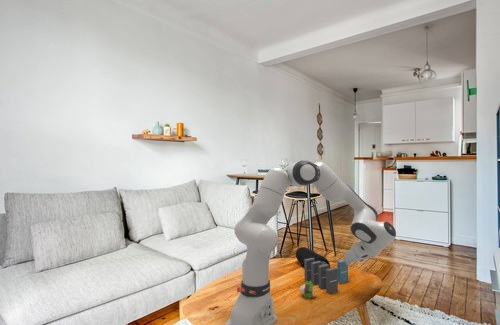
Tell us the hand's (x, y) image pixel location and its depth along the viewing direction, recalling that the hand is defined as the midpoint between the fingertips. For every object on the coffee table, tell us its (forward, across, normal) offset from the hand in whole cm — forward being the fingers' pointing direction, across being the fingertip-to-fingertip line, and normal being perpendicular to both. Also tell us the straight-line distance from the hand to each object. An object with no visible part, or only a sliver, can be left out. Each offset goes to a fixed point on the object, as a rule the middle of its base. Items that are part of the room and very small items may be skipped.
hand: (353, 261), depth 142 cm
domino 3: (+14, +13, +4) cm, 20 cm away
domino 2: (+18, +13, 0) cm, 22 cm away
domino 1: (+22, +13, -4) cm, 26 cm away
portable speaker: (+31, +1, -13) cm, 33 cm away
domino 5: (+14, 0, +4) cm, 15 cm away
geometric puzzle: (+12, +26, +6) cm, 29 cm away
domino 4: (+10, +13, +8) cm, 18 cm away
